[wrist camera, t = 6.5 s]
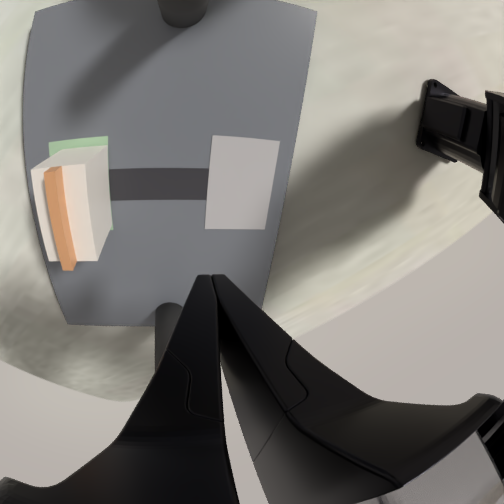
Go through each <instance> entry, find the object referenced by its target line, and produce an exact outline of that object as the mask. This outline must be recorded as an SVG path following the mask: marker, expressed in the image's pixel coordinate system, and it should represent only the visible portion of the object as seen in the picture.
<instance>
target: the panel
mask: <svg viewBox="0 0 504 504" xmlns="http://www.w3.org/2000/svg"><path fill="white" fill-rule="evenodd" d="M316 17H317V11H314V10H311V9H308V8H305V7H301V6H297V5H294V4H290V3H286V2H282V1H278V0H209V3H208V6H207V9H206V13H205V15H204V17H203V18H202V19H201V20H200V21H199V22H198V23H197V24H195V25H193V26H190V27H187V28H176V27H172V26H170V25H168V24H167V23H166V22H165V21H164V20H163V18H162V15H161V12H160V8H159V5H158V1H157V0H73V1H69V2H66V3H62V4H58V5H55V6H51V7H48V8H45V9H42V10H39V11H36V12H35V15H34V19H33V24H32V29H31V34H30V39H29V45H28V52H27V59H26V68H25V79H24V95H23V135H24V151H25V163H26V172H27V180H28V187H29V193H30V199H31V205H32V210H33V215H34V220H35V225H36V229H37V233H38V237H39V241H40V245H41V249H42V253H43V256H44V260H45V263H46V266H47V269H48V273H49V276H50V279H51V282H52V285H53V288H54V290H55V293H56V296H57V299H58V301H59V304H60V306H61V309H62V311H63V314H64V316H65V319H66V321H67V323H68V324H72V325H95V326H155V312H156V309H157V307H158V306H159V305H161V304H163V303H167V302H172V303H177V304H179V305H181V306H182V307H183V306H184V304H185V301H186V299H187V297H188V294H189V292H190V290H191V288H192V285H193V283H194V281H195V279H196V277H197V275H199V274H209V275H212V274H225V275H226V276H227V277H228V278H229V279H230V280H231V281H232V282H233V283H234V284H235V285H236V286H237V287H238V288H239V289H240V290H242V291H243V292H244V293H245V294H246V295H247V296H248V297H249V298H250V299H251V300H252V301H253V302H254V303H255V304H256V305H257V306H258V307H259V308H260V309H262V304H263V300H264V295H265V291H266V286H267V281H268V277H269V272H270V267H271V263H272V258H273V253H274V249H275V244H276V239H277V234H278V229H279V224H280V219H281V214H282V209H283V204H284V199H285V194H286V189H287V184H288V179H289V174H290V169H291V163H292V158H293V153H294V147H295V142H296V137H297V131H298V126H299V120H300V114H301V109H302V103H303V97H304V91H305V86H306V80H307V74H308V68H309V62H310V56H311V49H312V43H313V37H314V30H315V24H316ZM102 145H108V176H109V193H110V206H111V216H112V226H111V228H110V231H109V233H108V236H107V238H106V241H105V243H104V246H103V248H102V251H101V253H100V256H99V259H98V261H77V263H76V265H75V267H74V269H73V271H63V269H62V266H61V262H60V261H49V259H48V256H47V252H46V249H45V245H44V241H43V237H42V232H41V228H40V224H39V219H38V214H37V209H36V203H35V197H34V191H33V184H32V177H31V169H33V168H34V167H35V166H37V165H38V164H40V163H41V162H43V161H44V160H46V159H47V158H49V157H50V156H52V155H54V154H55V153H57V152H58V151H60V150H62V149H69V148H78V147H89V146H102Z"/></svg>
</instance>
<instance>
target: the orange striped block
mask: <svg viewBox="0 0 504 504" xmlns="http://www.w3.org/2000/svg"><path fill="white" fill-rule="evenodd" d="M31 177H32V184H33V191H34V197H35V203H36V209H37V214H38V219H39V224H40V228H41V232H42V237H43V241H44V245H45V249H46V252H47V256H48V259H49V261H60V262H61V266H62V269H63V271H73V269H74V267H75V265H76V263H77V261H98V259H99V256H100V253H101V251H102V248H103V246H104V243H105V241H106V238H107V236H108V233H109V231H110V228H111V226H112V216H111V206H110V193H109V176H108V145H102V146H89V147H78V148H69V149H62V150H60V151H58V152H57V153H55V154H54V155H52V156H50V157H49V158H47V159H46V160H44V161H43V162H41V163H40V164H38V165H37V166H35V167H34V168H33V169H31Z"/></svg>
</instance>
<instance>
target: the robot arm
mask: <svg viewBox="0 0 504 504" xmlns="http://www.w3.org/2000/svg"><path fill="white" fill-rule="evenodd" d="M485 97H486V99H487V104H484V103H481V102H478V101H475V100H471V99H468V98H464V97H460V96H459V95H457V94H456V93H455V92H453V91H452V90H450V89H449V88H448V87H446V86H445V85H443V84H442V83H440V82H439V81H437V80H435V79H430V80H429V82H428V88H427V94H426V99H425V105H424V110H423V115H422V119H421V124H420V128H419V133H418V137H417V141H416V145H417V147H418V148H420V149H423V150H425V151H428V152H430V153H433V154H436V155H438V156H440V157H443V158H445V159H448V160H450V161H452V162H457V161H460V162H462V163H464V164H466V165H468V166H470V167H472V168H474V169H476V170H478V171H480V172H481V173H483V179H482V186H481V190H480V193H479V197H480V198H481V199H482V200H483V201H484V202H485V203H486V205H487V206H488V207H489V208H490V209H491V210H492V211H493V212H494V213H495V214H496V215H497V216H498V217H499V219H500V220H501V221H502V222H503V223H504V93H501V92H494V91H486V90H485ZM421 143H422V144H421ZM220 362H221V366H222V369H223V373H224V376H225V379H226V383H227V386H228V389H229V393H230V396H231V399H232V402H233V405H234V408H235V412H236V415H237V418H238V420H239V424H240V427H241V430H242V433H243V436H244V439H245V441H246V444H247V447H248V450H249V453H250V456H251V458H252V461H253V462H254V463H253V464H254V467H255V470H256V472H257V475H258V477H259V480H260V483H261V485H262V488H263V490H264V493H265V495H266V498H267V500H268V503H269V504H504V400H503V401H502V400H501V399H500V398H497V397H495V396H493V395H489V394H480V393H477V394H475V395H474V396H473V397H472V398H470V399H469V400H468V401H467V402H464V403H461V404H458V405H450V406H449V405H447V406H446V405H423V404H410V403H399V402H390V401H384V400H380V399H377V398H374V397H372V396H370V395H368V394H366V393H364V392H363V391H361V390H360V389H358V388H357V387H355V386H354V385H352V384H351V383H349V382H348V381H346V380H345V379H343V378H342V377H341V376H339V375H338V374H336V373H335V372H333V371H332V370H331V369H329V368H328V367H327V366H325V365H324V364H323V363H321V362H320V361H318V360H317V359H316V358H315V357H313V356H312V355H311V354H310V353H308V351H306V350H305V349H304V348H303V347H301V345H299V344H298V343H297V342H296V341H295V340H292V337H291V336H289V335H288V334H287V333H286V332H285V331H284V330H283V329H282V328H281V327H280V326H279V325H278V324H276V323H275V322H274V321H273V320H272V319H271V318H270V317H269V316H268V315H267V314H266V313H265V312H264V311H263V310H261V309H260V308H259V307H258V306H257V305H256V304H255V303H254V302H253V301H252V300H251V299H250V298H249V297H248V296H247V295H246V294H245V293H244V292H243V291H242V290H240V289H239V288H238V287H237V286H236V285H235V284H234V283H233V282H232V281H231V280H230V279H229V278H228V277H227V276H226V275H225V274H212V275H209V274H199V275H197V277H196V279H195V281H194V283H193V285H192V288H191V290H190V292H189V294H188V297H187V299H186V301H185V304H184V306H183V308H182V310H181V313H180V315H179V317H178V320H177V322H176V324H175V327H174V329H173V331H172V334H171V336H170V339H169V341H168V343H167V346H166V348H165V351H164V353H163V355H162V357H161V360H160V362H159V364H158V367H157V369H156V371H155V373H154V375H153V377H152V379H151V381H150V383H149V385H148V386H147V388H146V390H145V392H144V394H143V395H142V397H141V399H140V400H139V402H138V404H137V405H136V407H135V409H134V411H133V412H132V414H131V416H130V418H129V419H128V421H127V423H126V424H125V426H124V428H123V429H122V431H121V432H120V434H119V435H118V437H117V438H116V439H115V440H114V441H113V442H112V443H111V444H110V445H109V446H108V447H107V448H106V449H105V450H103V451H102V452H101V453H99V454H98V455H97V456H96V457H94V458H93V459H92V460H90V461H89V462H88V463H86V464H85V465H84V466H82V467H81V468H80V469H78V470H77V471H76V472H74V473H73V474H72V475H70V476H69V477H68V478H66V479H65V480H63V481H62V482H60V483H58V484H56V485H53V486H50V487H35V486H31V485H28V484H25V483H23V482H20V481H17V480H15V479H11V478H8V477H4V478H3V479H2V480H1V481H0V504H240V503H239V499H238V495H237V491H236V487H235V482H234V478H233V473H232V469H231V464H230V459H229V454H228V450H227V444H226V436H225V427H224V414H223V399H222V383H221V366H220Z"/></svg>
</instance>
